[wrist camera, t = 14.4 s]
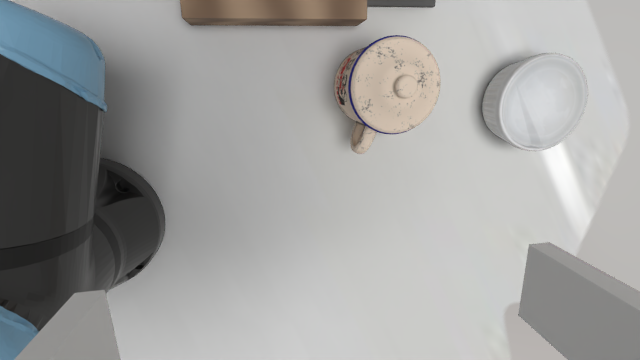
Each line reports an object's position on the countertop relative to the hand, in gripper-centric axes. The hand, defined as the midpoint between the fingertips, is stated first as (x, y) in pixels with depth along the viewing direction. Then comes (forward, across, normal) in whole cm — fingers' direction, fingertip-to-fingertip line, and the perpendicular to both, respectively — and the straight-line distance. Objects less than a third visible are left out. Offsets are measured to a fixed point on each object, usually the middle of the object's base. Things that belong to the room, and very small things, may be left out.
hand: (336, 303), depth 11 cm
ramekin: (+32, +30, +4) cm, 44 cm away
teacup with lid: (+32, +10, +5) cm, 34 cm away
